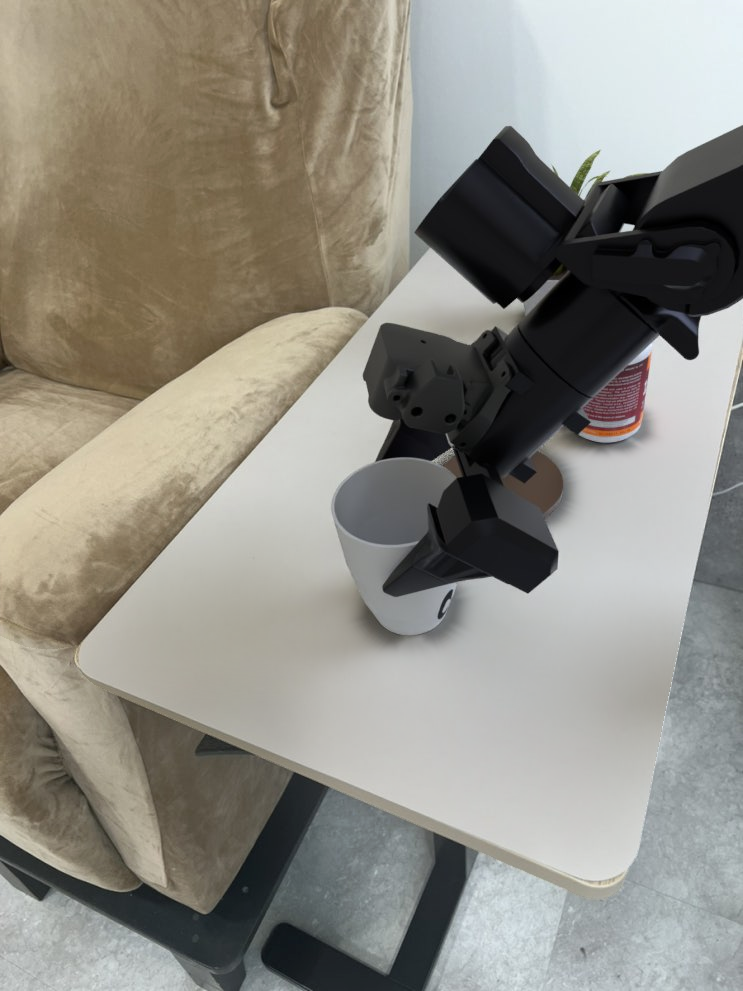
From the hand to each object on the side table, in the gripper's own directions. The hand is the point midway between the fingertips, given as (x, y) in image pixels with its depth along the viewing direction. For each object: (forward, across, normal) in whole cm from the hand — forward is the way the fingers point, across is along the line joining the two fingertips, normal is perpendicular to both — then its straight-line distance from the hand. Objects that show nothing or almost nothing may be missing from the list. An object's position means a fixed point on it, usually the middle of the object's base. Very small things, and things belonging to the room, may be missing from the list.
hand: (377, 538), depth 49 cm
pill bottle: (-10, -16, +20) cm, 28 cm away
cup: (+4, 0, +6) cm, 7 cm away
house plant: (-12, -34, +22) cm, 42 cm away
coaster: (-2, -10, +12) cm, 16 cm away
